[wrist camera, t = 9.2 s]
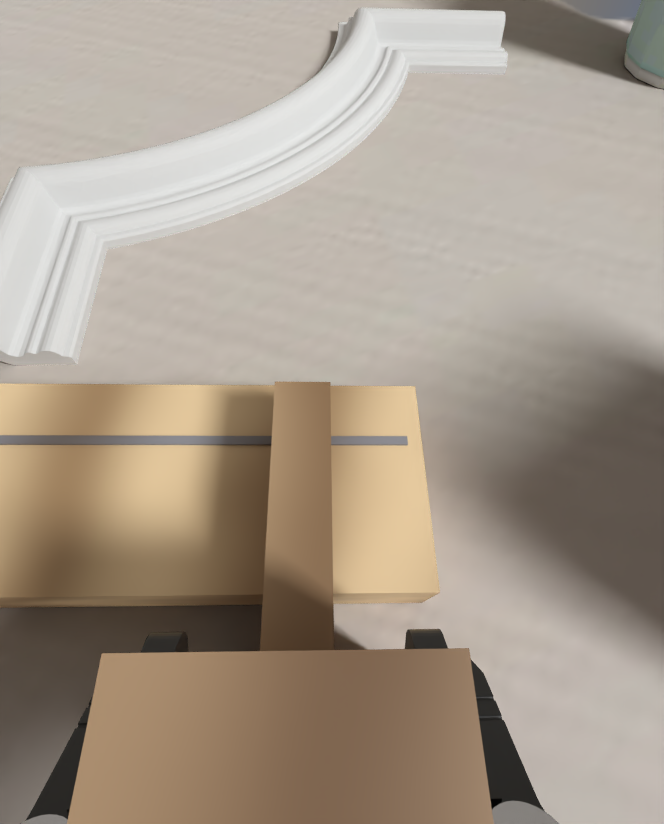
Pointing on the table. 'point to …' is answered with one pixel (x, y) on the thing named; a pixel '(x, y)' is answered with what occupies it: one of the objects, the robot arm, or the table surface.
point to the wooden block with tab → (287, 695)
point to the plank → (197, 495)
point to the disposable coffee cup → (647, 44)
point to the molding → (210, 171)
